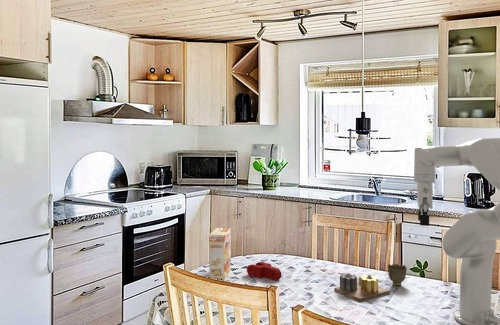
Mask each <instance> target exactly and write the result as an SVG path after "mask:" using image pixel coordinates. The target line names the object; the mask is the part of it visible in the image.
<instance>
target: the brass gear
mask: <svg viewBox="0 0 500 325" xmlns="http://www.w3.org/2000/svg"><path fill="white" fill-rule="evenodd" d="M361 276H362V277H361V290H362V292H367V293H371V292H372V293H377V292H378V286H379V278H378V277H377V276H375V275H372V278H371V279H367V275H361Z"/></svg>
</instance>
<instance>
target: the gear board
mask: <svg viewBox="0 0 500 325" xmlns="http://www.w3.org/2000/svg"><path fill="white" fill-rule="evenodd" d="M362 276H363V275H360V276H359V277H358V276H357V275H356V274H353V273H352V274H351V273H350V272H346V273H342V274H340V275H339V286H337V287H334V288H333V290H334V292H335V293H338V294H341V295H343V296H345V297H348V298H350V299H353V300H355V301H357V302H360V303H361V302H365V301H367V300H371V299H375V298H378V297H382V296H383V297H384V296H386V295H390V293H391V290H389V289H387V288H384V287H381V286H379V285H378V292H377V293H372V292H371V293H367V292H362V290H361V277H362ZM366 276H367V279H371V278H372V276H373V275H372V274H367V275H366Z"/></svg>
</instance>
